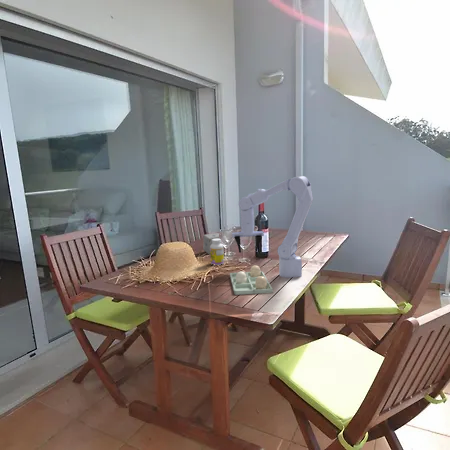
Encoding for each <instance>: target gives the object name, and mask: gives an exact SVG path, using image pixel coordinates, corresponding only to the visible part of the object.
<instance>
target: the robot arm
mask: <svg viewBox="0 0 450 450" xmlns="http://www.w3.org/2000/svg"><path fill="white" fill-rule="evenodd" d="M282 191H291V193H293V194H294V195H295V197H296V198H297V200H298V201H299V202H298V204H297V207H296V210H295V212H294V215H293V216H292V217H293V218H292V221H291V223H290V226H289V228H288V231H287V233H286V235H285V237H284V239H283V240H282V243H281V244H280V245H278V248H277V255H278V261H279V263H278V267H279V268H278V269H279V270H278V271H279V272H278V273H279V274H278V276H280V277H281V278H288V279H289V278H296V277H302V275H303V274H302V273H303V265H302V264H303V263H302V258H301V257H300V256H299V255H296V252H297V251H298V242H299V236H300V234H301V231H302V228H303V226H304V225H305V221H306V218H307V217H308V214H309V211H310V208H311V206H312V204H313V201H314V198H313V192H312V183H311V182H310V180H309V179H308V177H306V176H304V175H300V176H294V177H292V178H287V179H285V180H283V181H281V182H278V183H277V184H275V185H273V186H271V187H269V188H268V189H264V188H257V189H256V191H255V192H253V193H248V194H247V196H242V197H241V198H240V199H239V201H238V206H239V209H240V224H241V227H240V228H241V231H236V232H231V237H232V238H234V240H235V242H236V244H237V247H238V253H239V254H240V253H242V249H241V238H245V237H246V238H247V237H254V245H255V246H254V251H255V253H258V250H259V246H260V243H261V242H262V238H263V237H264V236H265V235H264V233H265V232H264V231H261V230H259V231H255V222H254V221H255V219H254V218H255V217H254V215H255V214H254V209H255V207H257V206H259V205H261V204H263V203H266V202H268V201H269V198H270V197H271V196H273V195H276V194H278V193H280V192H282Z"/></svg>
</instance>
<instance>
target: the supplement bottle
mask: <svg viewBox="0 0 450 450" xmlns="http://www.w3.org/2000/svg"><path fill="white" fill-rule="evenodd" d="M209 255H210V264H211V265H212V264H215V265H219V266H222V265H224V262H225V257H224V255H225V254H224V244H223V245H222V244H221V239H218V238H216V239H212V244H211V246H210V254H209ZM221 264H222V265H221ZM215 265H214V266H215Z"/></svg>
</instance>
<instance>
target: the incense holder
mask: <svg viewBox="0 0 450 450" xmlns="http://www.w3.org/2000/svg"><path fill="white" fill-rule="evenodd" d="M219 234H220V233H219V232H216V233H215V232H214V233H207V234H203V246H202V247H203V249H202V250H203V251H204V252H206V253H207V254H208V255H210V246H211V244H212V239H216V238H218V239H220V238H219Z"/></svg>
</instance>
